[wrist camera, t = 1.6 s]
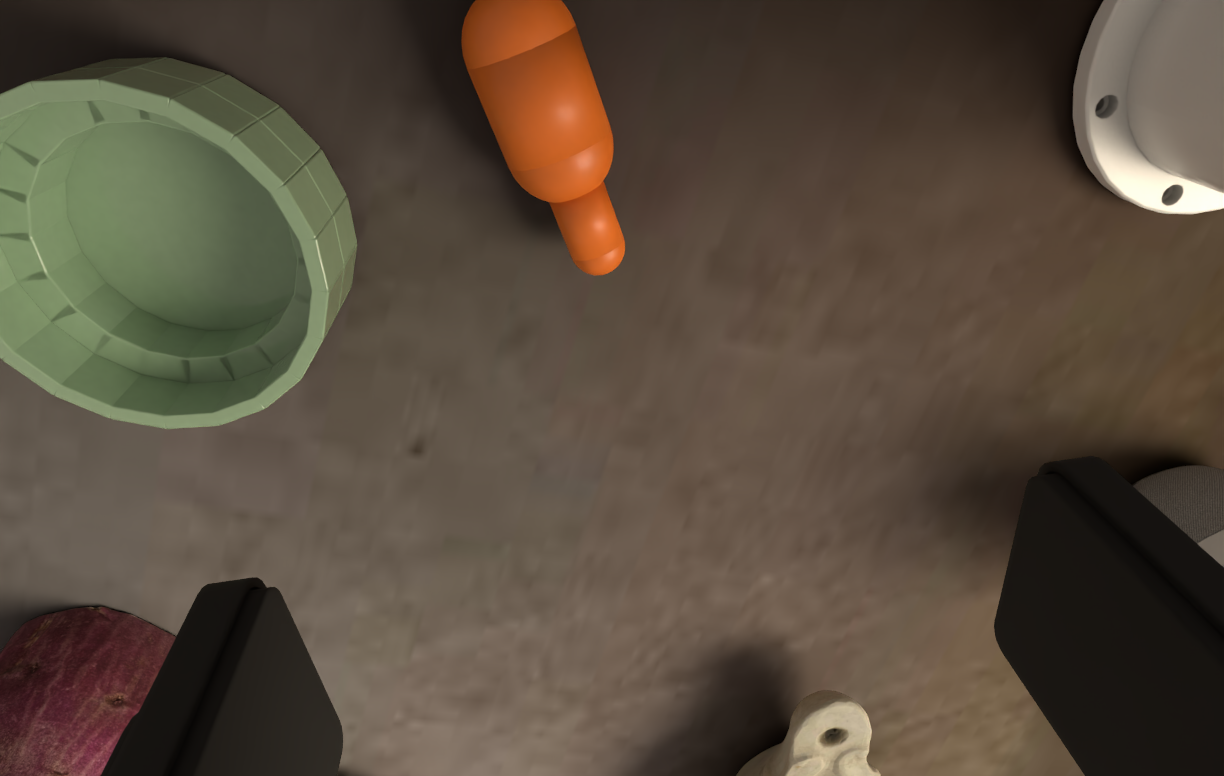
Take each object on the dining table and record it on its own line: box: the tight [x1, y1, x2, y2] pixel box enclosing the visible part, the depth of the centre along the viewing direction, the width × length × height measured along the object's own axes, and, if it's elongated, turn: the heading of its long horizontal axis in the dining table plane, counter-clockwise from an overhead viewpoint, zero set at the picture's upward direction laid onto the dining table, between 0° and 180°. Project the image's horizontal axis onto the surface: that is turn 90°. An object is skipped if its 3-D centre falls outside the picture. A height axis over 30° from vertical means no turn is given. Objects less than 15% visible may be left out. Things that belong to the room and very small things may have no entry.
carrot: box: [461, 0, 625, 275], centre depth 27 cm, size 12×4×4 cm, turn 19°
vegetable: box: [0, 607, 176, 776], centre depth 36 cm, size 10×10×15 cm
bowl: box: [0, 57, 357, 429], centre depth 27 cm, size 12×12×6 cm
